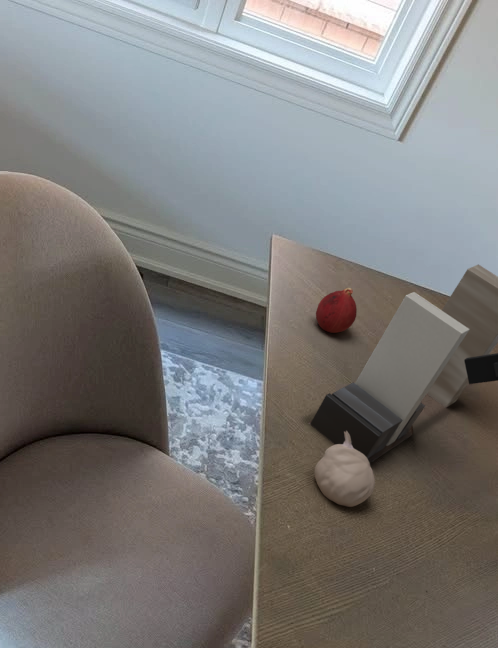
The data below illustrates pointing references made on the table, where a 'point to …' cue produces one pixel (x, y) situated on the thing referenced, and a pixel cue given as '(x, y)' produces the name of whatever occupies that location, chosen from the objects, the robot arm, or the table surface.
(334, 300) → the red pomegranate
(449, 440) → the table surface
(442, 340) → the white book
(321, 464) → the garlic bulb
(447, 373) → the book rack
